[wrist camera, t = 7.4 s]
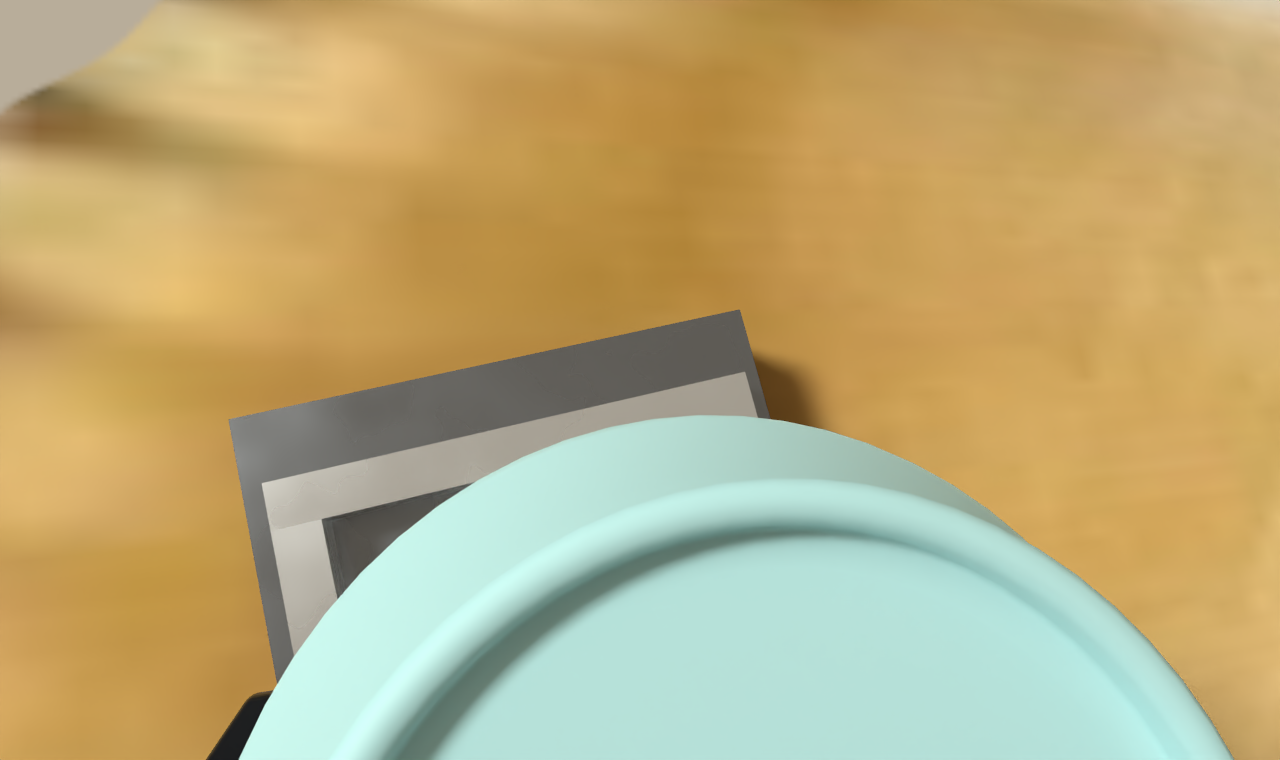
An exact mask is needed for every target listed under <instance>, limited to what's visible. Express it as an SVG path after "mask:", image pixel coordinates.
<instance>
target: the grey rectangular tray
mask: <svg viewBox="0 0 1280 760" xmlns="http://www.w3.org/2000/svg"><path fill="white" fill-rule="evenodd" d="M694 415H718V416H747V417H755V418H764V419H770V416H769V412H768V408H767V405H766V401H765V398H764V394H763V391H762V387H761V384H760V380H759V376H758V373H757V369H756V366H755V362H754V359H753V355H752V352H751V348H750V344H749V341H748V337H747V334H746V330H745V327H744V323H743V320H742V316H741V312H740V310H735V311H731V312H726V313H721V314H717V315H712V316H707V317H703V318H698V319H693V320H689V321H684V322H679V323H675V324H670V325H665V326H661V327H656V328H652V329H647V330H642V331H638V332H633V333H628V334H624V335H619V336H614V337H610V338H605V339H600V340H596V341H591V342H586V343H582V344H577V345H573V346H568V347H563V348H559V349H554V350H549V351H545V352H540V353H535V354H531V355H526V356H521V357H517V358H512V359H507V360H503V361H498V362H494V363H489V364H484V365H480V366H475V367H470V368H466V369H461V370H456V371H452V372H447V373H442V374H438V375H433V376H428V377H424V378H419V379H415V380H410V381H405V382H401V383H396V384H391V385H387V386H382V387H377V388H373V389H368V390H363V391H359V392H354V393H349V394H345V395H340V396H336V397H331V398H326V399H322V400H317V401H312V402H308V403H303V404H298V405H294V406H289V407H284V408H280V409H275V410H270V411H266V412H261V413H256V414H252V415H247V416H243V417H238V418H233V419H229V424H230V430H231V435H232V441H233V446H234V452H235V457H236V462H237V468H238V473H239V479H240V484H241V490H242V495H243V500H244V506H245V511H246V517H247V522H248V528H249V533H250V539H251V544H252V549H253V555H254V560H255V566H256V571H257V577H258V582H259V588H260V593H261V598H262V604H263V609H264V615H265V620H266V626H267V631H268V636H269V642H270V647H271V653H272V658H273V664H274V669H275V675H276V680H277V684H278V682H279V681H280V679H281V677H282V676H283V674H284V672H285V671H286V669H287V667H288V666H289V664H290V662H291V661H292V659H293V657H294V656H295V655H296V653H297V652H298V650H299V649H300V648H301V646H302V645H303V643H304V642H305V641H306V639H307V638H308V637H309V635H310V634H311V632H312V631H313V630H314V628H315V627H316V626H317V624H318V623H319V621H320V620H321V619H322V617H323V616H324V615H325V613H326V612H327V611H328V610H329V609H330V607H331V606H332V605H333V604H334V603H335V602H336V601H337V599H338V598H339V597H340V596H341V595H342V594H343V593H344V591H345V590H346V589H347V588H348V587H349V586H350V585H351V583H352V582H353V581H354V580H355V579H356V578H357V577H358V575H359V574H360V573H361V572H362V571H363V570H364V569H365V568H366V567H367V566H368V565H370V564H371V563H372V562H373V561H374V560H375V559H376V558H377V557H378V556H379V555H380V554H381V553H382V552H383V551H384V550H385V549H386V548H387V547H389V546H390V545H391V544H392V543H393V542H394V541H395V540H396V539H397V538H398V537H399V536H400V535H402V534H403V533H404V532H406V531H407V530H408V529H409V528H411V527H412V526H413V525H414V524H416V523H417V522H418V521H420V520H421V519H422V518H423V517H425V516H426V515H427V514H428V513H430V512H431V511H432V510H434V509H435V508H436V507H437V506H439V505H440V504H442V503H443V502H445V501H446V500H448V499H450V498H451V497H453V496H454V495H456V494H457V493H459V492H460V491H462V490H464V489H465V488H467V487H468V486H470V485H471V484H473V483H474V482H476V481H477V480H479V479H481V478H483V477H485V476H487V475H489V474H490V473H492V472H494V471H496V470H498V469H500V468H502V467H504V466H506V465H508V464H510V463H512V462H514V461H516V460H518V459H520V458H521V457H524V456H526V455H529V454H531V453H534V452H536V451H539V450H541V449H544V448H546V447H549V446H551V445H554V444H556V443H559V442H561V441H564V440H567V439H570V438H574V437H577V436H580V435H584V434H587V433H591V432H594V431H598V430H601V429H605V428H608V427H613V426H618V425H623V424H629V423H634V422H640V421H645V420H650V419H658V418H670V417H682V416H694Z"/></svg>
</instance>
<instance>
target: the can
mask: <svg viewBox="0 0 1280 760" xmlns="http://www.w3.org/2000/svg"><path fill="white" fill-rule="evenodd" d="M239 760H1234V758H1233V756H1232V755H1231V753H1230V751H1229V750H1228V748H1227V746H1226V744H1225V743H1224V741H1223V739H1222V738H1221V736H1220V734H1219V733H1218V731H1217V729H1216V728H1215V726H1214V724H1213V723H1212V721H1211V719H1210V718H1209V717H1208V715H1207V714H1206V712H1205V711H1204V710H1203V708H1202V707H1201V705H1200V704H1199V703H1198V701H1197V700H1196V698H1195V697H1194V696H1193V694H1192V693H1191V691H1190V690H1189V689H1188V687H1187V686H1186V684H1185V683H1184V681H1183V680H1182V679H1181V677H1180V676H1179V675H1178V674H1177V673H1176V672H1175V670H1174V669H1173V668H1172V667H1171V666H1170V664H1169V663H1168V662H1167V661H1166V660H1165V659H1164V657H1163V656H1162V655H1161V654H1160V653H1159V652H1158V650H1157V649H1156V648H1155V647H1154V646H1153V644H1152V643H1151V642H1150V641H1149V640H1148V639H1147V638H1146V637H1145V636H1144V635H1143V634H1142V633H1141V632H1140V631H1139V630H1138V629H1137V628H1136V627H1135V626H1134V625H1133V624H1132V623H1131V622H1130V621H1129V620H1128V619H1127V618H1126V617H1125V616H1124V615H1123V614H1122V613H1121V612H1120V611H1119V610H1118V609H1117V608H1116V607H1115V606H1114V605H1113V604H1111V603H1110V602H1109V601H1108V600H1106V599H1105V598H1104V597H1103V596H1102V595H1100V594H1099V593H1098V592H1097V591H1096V590H1094V589H1093V588H1092V587H1091V586H1090V585H1088V584H1087V583H1086V582H1085V581H1083V580H1082V579H1081V578H1080V577H1079V576H1077V575H1076V574H1075V573H1073V572H1072V571H1070V570H1069V569H1067V568H1066V567H1064V566H1063V565H1061V564H1060V563H1058V562H1057V561H1055V560H1054V559H1053V558H1051V557H1050V556H1048V555H1047V554H1045V553H1044V552H1042V551H1041V550H1039V549H1038V548H1036V547H1034V546H1032V545H1031V544H1029V543H1027V542H1026V541H1025V540H1024V539H1023V538H1022V537H1021V536H1020V535H1019V534H1018V533H1016V532H1015V531H1014V530H1013V529H1011V528H1010V527H1009V526H1008V525H1007V524H1005V523H1004V522H1003V521H1002V520H1001V519H999V518H998V517H997V516H996V515H995V514H993V513H992V512H991V511H990V510H988V509H987V508H986V507H984V506H983V505H981V504H980V503H978V502H977V501H975V500H974V499H972V498H971V497H969V496H968V495H967V494H965V493H964V492H962V491H961V490H959V489H958V488H956V487H955V486H953V485H952V484H950V483H948V482H946V481H945V480H943V479H941V478H939V477H937V476H936V475H934V474H932V473H930V472H928V471H927V470H925V469H923V468H921V467H919V466H917V465H916V464H914V463H912V462H909V461H907V460H905V459H902V458H900V457H898V456H895V455H893V454H891V453H889V452H886V451H884V450H882V449H879V448H877V447H875V446H872V445H870V444H868V443H865V442H862V441H859V440H856V439H852V438H849V437H846V436H843V435H840V434H837V433H834V432H831V431H828V430H824V429H819V428H815V427H810V426H805V425H801V424H796V423H792V422H787V421H781V420H772V419H764V418H755V417H747V416H718V415H694V416H682V417H670V418H658V419H650V420H645V421H640V422H634V423H629V424H623V425H618V426H613V427H608V428H605V429H601V430H598V431H594V432H591V433H587V434H584V435H580V436H577V437H574V438H570V439H567V440H564V441H561V442H559V443H556V444H554V445H551V446H549V447H546V448H544V449H541V450H539V451H536V452H534V453H531V454H529V455H526V456H524V457H521V458H520V459H518V460H516V461H514V462H512V463H510V464H508V465H506V466H504V467H502V468H500V469H498V470H496V471H494V472H492V473H490V474H489V475H487V476H485V477H483V478H481V479H479V480H477V481H476V482H474V483H473V484H471V485H470V486H468V487H467V488H465V489H464V490H462V491H460V492H459V493H457V494H456V495H454V496H453V497H451V498H450V499H448V500H446V501H445V502H443V503H442V504H440V505H439V506H437V507H436V508H435V509H434V510H432V511H431V512H430V513H428V514H427V515H426V516H425V517H423V518H422V519H421V520H420V521H418V522H417V523H416V524H414V525H413V526H412V527H411V528H409V529H408V530H407V531H406V532H404V533H403V534H402V535H400V536H399V537H398V538H397V539H396V540H395V541H394V542H393V543H392V544H391V545H390V546H389V547H387V548H386V549H385V550H384V551H383V552H382V553H381V554H380V555H379V556H378V557H377V558H376V559H375V560H374V561H373V562H372V563H371V564H370V565H368V566H367V567H366V568H365V569H364V570H363V571H362V572H361V573H360V574H359V575H358V577H357V578H356V579H355V580H354V581H353V582H352V583H351V585H350V586H349V587H348V588H347V589H346V590H345V591H344V593H343V594H342V595H341V596H340V597H339V598H338V599H337V601H336V602H335V603H334V604H333V605H332V606H331V607H330V609H329V610H328V611H327V612H326V613H325V615H324V616H323V617H322V619H321V620H320V621H319V623H318V624H317V626H316V627H315V628H314V630H313V631H312V632H311V634H310V635H309V637H308V638H307V639H306V641H305V642H304V643H303V645H302V646H301V648H300V649H299V650H298V652H297V653H296V655H295V656H294V657H293V659H292V661H291V662H290V664H289V666H288V667H287V669H286V671H285V672H284V674H283V676H282V677H281V679H280V681H279V682H278V684H277V686H276V687H275V689H274V691H273V692H272V694H271V696H270V697H269V699H268V701H267V702H266V704H265V706H264V708H263V710H262V712H261V714H260V716H259V718H258V720H257V722H256V725H255V727H254V729H253V731H252V733H251V735H250V737H249V739H248V741H247V743H246V745H245V747H244V749H243V752H242V754H241V756H240V758H239Z"/></svg>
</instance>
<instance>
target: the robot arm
mask: <svg viewBox="0 0 1280 760" xmlns="http://www.w3.org/2000/svg"><path fill="white" fill-rule="evenodd" d="M273 691H274V690H273ZM273 691H266V692H260V693H256V694H253V695H252V696H251V697H249V698H248V699H247V700H246V701H245V703H244V704H243V706H242V707H241V709H240V710H239V712H238V713H237V715H236V716H235V718H234V719H233V721H232V722H231V723H230V725H229V726H228V728H227V729H226V731H225V732H224V734H223V735H222V737H221V738H220V740H219V741H218V743H217V744H216V746H215V747H214V749H213V750H212V752H211V753H210V754H209V756H208V757H207V759H206V760H239V758H240V756H241V754H242V752H243V749H244V747H245V745H246V743H247V741H248V739H249V737H250V735H251V733H252V731H253V729H254V727H255V725H256V722H257V720H258V718H259V716H260V714H261V712H262V710H263V708H264V706H265V704H266V702H267V701H268V699H269V697H270V696H271V694H272V692H273Z"/></svg>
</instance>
